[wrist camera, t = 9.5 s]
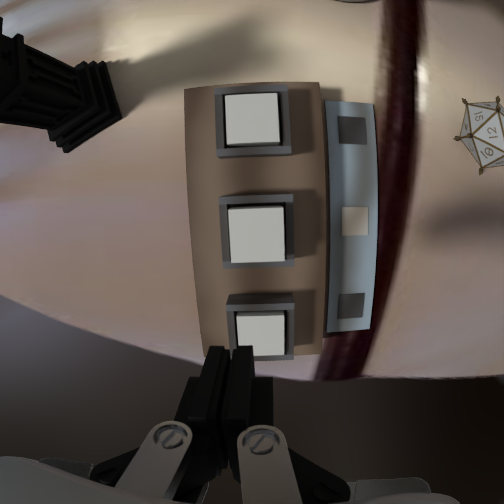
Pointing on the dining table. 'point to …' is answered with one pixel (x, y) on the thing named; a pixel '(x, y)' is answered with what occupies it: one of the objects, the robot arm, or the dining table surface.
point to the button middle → (256, 233)
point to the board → (295, 215)
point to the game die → (484, 133)
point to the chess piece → (54, 94)
